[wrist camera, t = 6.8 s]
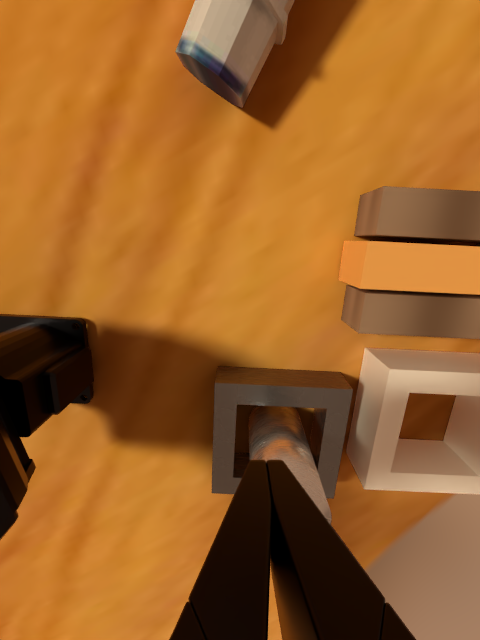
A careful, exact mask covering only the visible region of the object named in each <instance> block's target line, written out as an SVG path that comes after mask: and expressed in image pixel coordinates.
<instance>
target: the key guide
mask: <svg viewBox="0 0 480 640" xmlns="http://www.w3.org/2000/svg"><path fill="white" fill-rule="evenodd" d="M354 236H369V237H388V238H408V239H427V240H447V241H466V242H478V243H477V247H480V191H463V190H444V189H425V188H406V187H388V186H384V187H381V188H378V189H376V190H373V191H370V192H368V193H365V194H363V195H360V201H359V208H358V214H357V221H356V227H355V234H354ZM341 320H343V321H344V322H345V323H346V324H348V325H349V326H350V327H351V328H353V329H354V330H355V331H356V332H358V333H365V334H386V335H407V336H427V337H448V338H468V339H480V295H477V294H457V293H437V292H417V291H397V290H376V289H359V288H357V287H354V286H351V285H347V286H346V292H345V299H344V305H343V312H342V318H341Z"/></svg>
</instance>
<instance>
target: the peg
mask: <svg viewBox="0 0 480 640" xmlns="http://www.w3.org/2000/svg"><path fill="white" fill-rule="evenodd" d="M248 425H249V452H250V460H265V461H266V462H267V460H283V461H284V462H285V464H286V465H287V467H288V468H289V469H290V471H291V472H292V473H293V475H294V476H295V477H296V479H297V480H298V481H299V483H300V484H301V485H302V487H303V488H304V489H305V491H306V492H307V494H308V495H309V496H310V498H311V499H312V500H313V502H314V503H315V504H316V506H317V507H318V508H319V510H320V511H321V512H322V514H323V515H324V516H325V518H326V519H327V520H328V522H329V523H330V524H331V511H330V508H329V505H328V502H327V499H326V496H325V493H324V490H323V487H322V484H321V481H320V478H319V474H318V471H317V468H316V465H315V462H314V459H313V456H312V453H311V450H310V447H309V444H308V441H307V438H306V435H305V432H304V429H303V426H302V423H301V420H300V417H299V414H298V412H297V410H296V409H295V407H283V406H261V405H257V406H255V407H254V409H253V410H252V411H251V413H250V415H249V420H248Z"/></svg>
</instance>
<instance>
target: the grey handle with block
mask: <svg viewBox="0 0 480 640" xmlns="http://www.w3.org/2000/svg"><path fill="white" fill-rule="evenodd" d="M294 1H295V0H195V2H194V5H193V8H192V10H191V13H190V15H189V18H188V21H187V23H186V26H185V28H184V31H183V34H182V36H181V39H180V41H179V44H178V46H177V49H176V53H177V55H178V57H179V59H180V60H181V62H182V64H183V66H184V67H185V68H186V69H188V70H189V71H190V72H191V73H192V74H193V75H194V76H195V77H196V78H197V79H198V80H199V81H200V82H202V83H203V84H204V85H206V86H207V87H209V88H210V89H211V90H213V91H214V92H216V93H217V94H218V95H220V96H221V97H223V98H224V99H225V100H227V101H228V102H230V103H231V104H233V105H236V106H239V107H241V108H243V106H244V104H245V102H246V99H247V97H248V95H249V93H250V91H251V89H252V87H253V85H254V83H255V81H256V79H257V77H258V75H259V73H260V71H261V69H262V67H263V65H264V63H265V61H266V59H267V57H268V55H269V53H270V51H271V49H272V47H273V45H274V44H278V45H282V43H283V41H284V39H285V36H286V28H287V21H288V14H289V12H290V10H291V7H292V5H293V3H294Z"/></svg>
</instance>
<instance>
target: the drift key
mask: <svg viewBox="0 0 480 640" xmlns="http://www.w3.org/2000/svg"><path fill="white" fill-rule="evenodd" d="M338 280H340V281H342V282H345V283H347V284H350V285H352V286H354V287H357V288H359V289H376V290H397V291H417V292H437V293H457V294H477V295H480V247H477V246H457V245H438V244H418V243H399V242H379V241H344V245H343V252H342V258H341V265H340V272H339V279H338Z"/></svg>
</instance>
